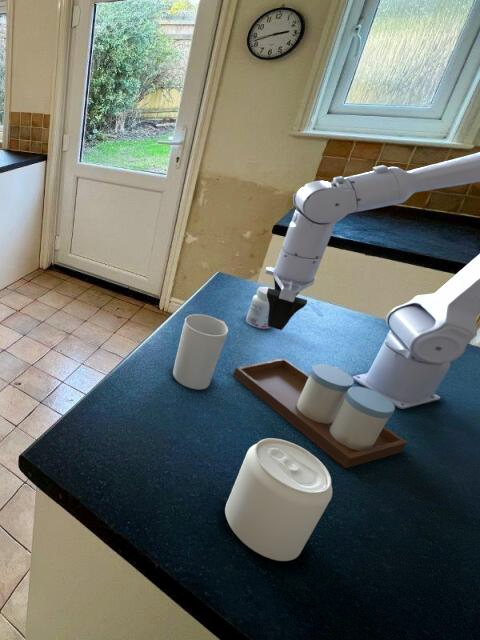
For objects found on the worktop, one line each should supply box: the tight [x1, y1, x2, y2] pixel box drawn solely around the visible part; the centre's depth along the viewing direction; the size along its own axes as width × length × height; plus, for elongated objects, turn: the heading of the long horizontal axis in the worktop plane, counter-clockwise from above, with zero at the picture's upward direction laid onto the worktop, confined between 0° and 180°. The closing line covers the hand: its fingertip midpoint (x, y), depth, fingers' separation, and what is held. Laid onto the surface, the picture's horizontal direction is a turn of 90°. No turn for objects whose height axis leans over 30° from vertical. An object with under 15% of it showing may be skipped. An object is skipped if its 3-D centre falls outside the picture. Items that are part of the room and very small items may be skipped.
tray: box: [232, 357, 408, 469], centre depth 70 cm, size 11×20×2 cm, turn 14°
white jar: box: [297, 363, 355, 423], centre depth 67 cm, size 5×5×8 cm
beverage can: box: [224, 437, 333, 562], centre depth 50 cm, size 8×8×12 cm
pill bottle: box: [245, 286, 274, 330], centre depth 92 cm, size 5×5×8 cm
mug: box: [172, 313, 229, 390], centre depth 75 cm, size 10×7×12 cm, turn 118°
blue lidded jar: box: [330, 386, 396, 451], centre depth 62 cm, size 5×5×8 cm
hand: (277, 318), depth 77 cm, fingers open, 7 cm apart
